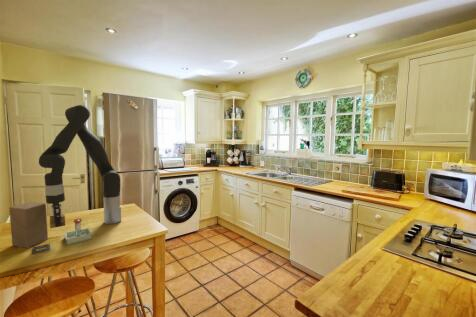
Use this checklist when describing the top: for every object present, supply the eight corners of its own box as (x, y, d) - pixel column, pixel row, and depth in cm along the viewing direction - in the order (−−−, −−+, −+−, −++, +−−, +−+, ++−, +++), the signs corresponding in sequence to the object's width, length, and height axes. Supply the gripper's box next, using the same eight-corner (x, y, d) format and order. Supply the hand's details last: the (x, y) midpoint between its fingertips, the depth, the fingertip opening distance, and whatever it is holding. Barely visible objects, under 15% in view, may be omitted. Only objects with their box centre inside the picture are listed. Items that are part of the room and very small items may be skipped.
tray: (89, 232, 130) (88, 227, 129) (91, 239, 122) (91, 233, 122) (65, 237, 123) (64, 232, 122) (66, 245, 115) (66, 239, 115)
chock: (64, 222, 121) (64, 213, 120) (65, 225, 117) (64, 216, 117) (50, 225, 117) (49, 216, 116) (50, 228, 114) (49, 218, 113)
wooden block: (27, 248, 111) (24, 209, 108) (11, 245, 113) (8, 207, 110) (48, 239, 120) (46, 203, 118) (33, 236, 122) (30, 201, 120)
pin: (82, 235, 125) (81, 218, 124) (82, 237, 122) (81, 220, 121) (74, 237, 123) (73, 219, 121) (75, 239, 120) (74, 221, 119)
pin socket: (50, 244, 115) (49, 243, 115) (50, 249, 110) (50, 248, 110) (33, 248, 111) (33, 247, 111) (33, 253, 106) (33, 252, 106)
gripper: (44, 191, 118) (47, 222, 120) (45, 197, 107) (49, 231, 109) (62, 188, 123) (65, 218, 125) (65, 194, 112) (68, 227, 114)
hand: (57, 224), depth 117 cm, fingers closed on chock, 4 cm apart
